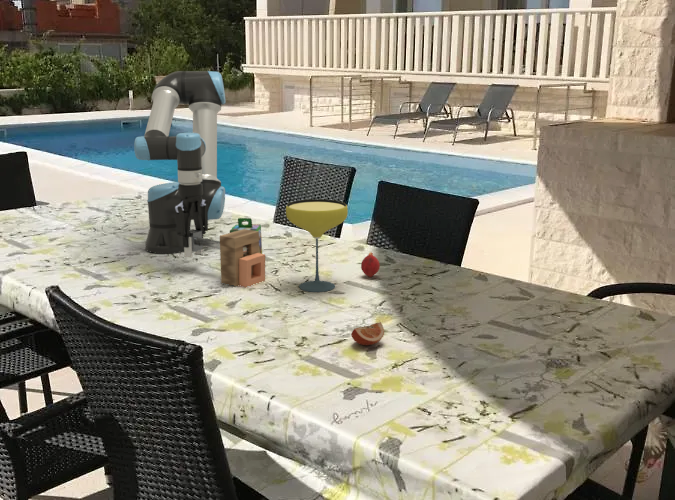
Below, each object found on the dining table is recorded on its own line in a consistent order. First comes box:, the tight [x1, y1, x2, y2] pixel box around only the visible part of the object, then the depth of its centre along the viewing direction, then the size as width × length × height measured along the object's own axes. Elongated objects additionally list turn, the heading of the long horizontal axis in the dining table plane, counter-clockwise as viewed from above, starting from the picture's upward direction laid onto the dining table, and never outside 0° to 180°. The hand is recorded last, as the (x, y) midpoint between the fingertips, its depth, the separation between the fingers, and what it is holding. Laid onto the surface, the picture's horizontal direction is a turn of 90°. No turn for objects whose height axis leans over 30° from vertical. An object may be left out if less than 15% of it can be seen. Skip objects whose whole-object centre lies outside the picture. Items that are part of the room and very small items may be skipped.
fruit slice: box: [350, 321, 385, 346], centre depth 182 cm, size 8×7×5 cm
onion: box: [360, 251, 381, 278], centre depth 236 cm, size 6×6×8 cm
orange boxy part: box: [239, 253, 266, 288], centre depth 230 cm, size 3×8×8 cm, turn 146°
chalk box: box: [229, 217, 263, 254], centre depth 255 cm, size 9×9×15 cm
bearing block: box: [219, 229, 259, 287], centre depth 232 cm, size 6×11×15 cm, turn 146°
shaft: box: [189, 228, 249, 254], centre depth 236 cm, size 24×4×6 cm, turn 56°
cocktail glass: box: [285, 198, 349, 293], centre depth 224 cm, size 18×18×25 cm
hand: (193, 255), depth 243 cm, fingers closed on shaft, 4 cm apart
